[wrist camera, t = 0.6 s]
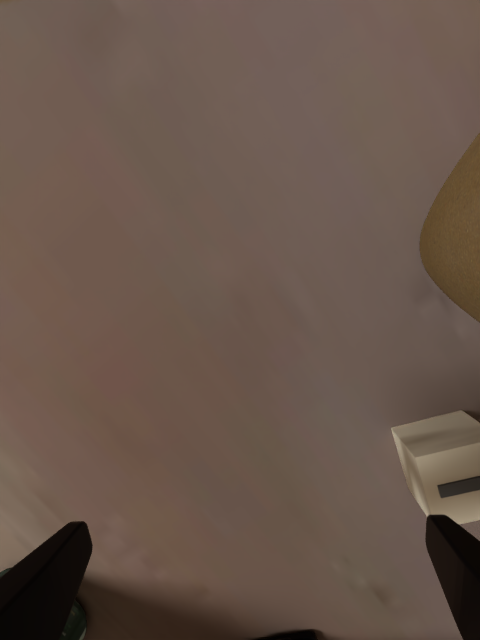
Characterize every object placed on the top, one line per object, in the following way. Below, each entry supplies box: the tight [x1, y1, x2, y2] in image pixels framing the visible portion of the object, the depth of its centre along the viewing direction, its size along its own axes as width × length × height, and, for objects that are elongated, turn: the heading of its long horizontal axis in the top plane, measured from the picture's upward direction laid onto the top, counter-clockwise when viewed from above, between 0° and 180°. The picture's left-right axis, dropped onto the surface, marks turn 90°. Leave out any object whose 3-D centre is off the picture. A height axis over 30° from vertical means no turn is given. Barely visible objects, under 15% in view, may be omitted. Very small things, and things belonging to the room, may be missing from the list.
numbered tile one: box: [391, 410, 480, 524], centre depth 21 cm, size 5×5×4 cm
